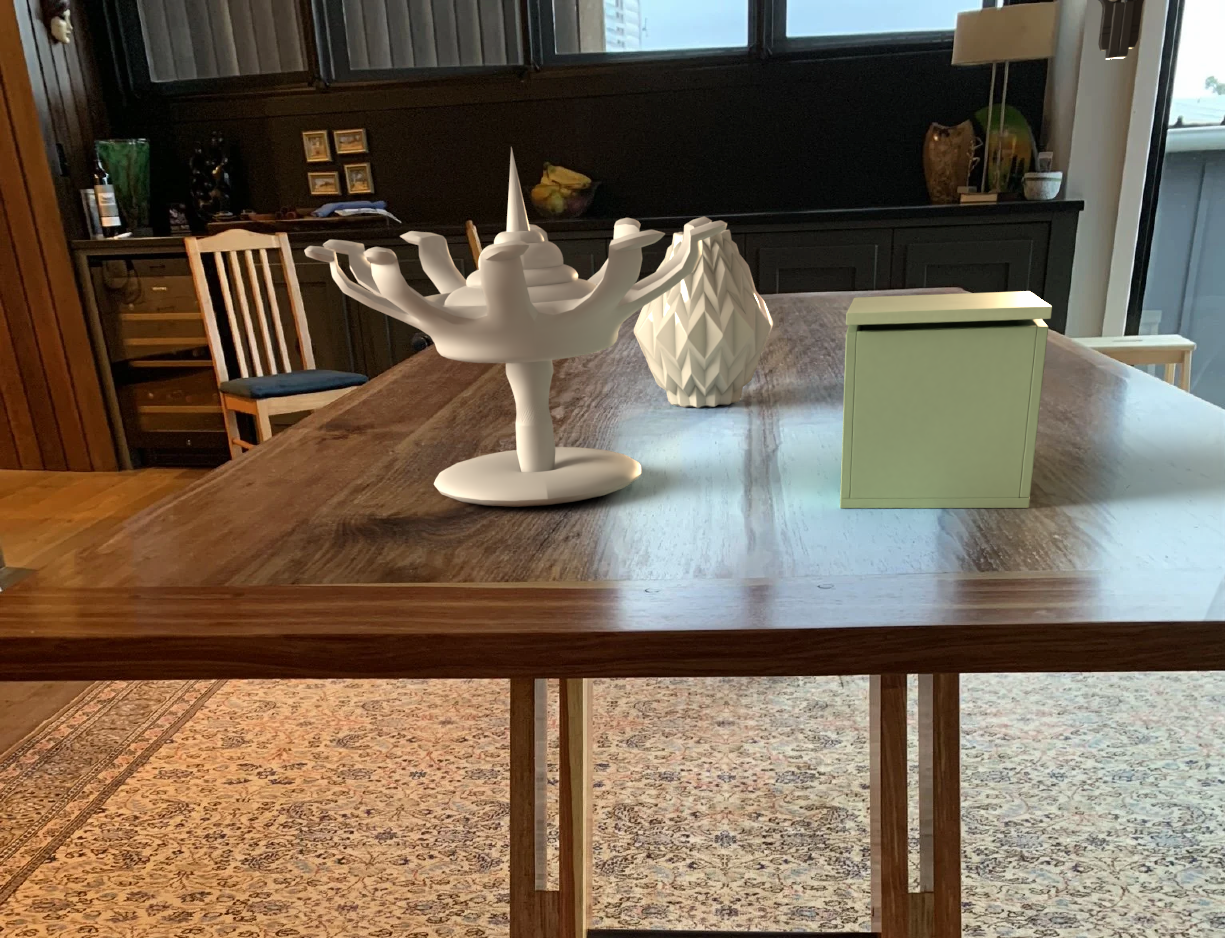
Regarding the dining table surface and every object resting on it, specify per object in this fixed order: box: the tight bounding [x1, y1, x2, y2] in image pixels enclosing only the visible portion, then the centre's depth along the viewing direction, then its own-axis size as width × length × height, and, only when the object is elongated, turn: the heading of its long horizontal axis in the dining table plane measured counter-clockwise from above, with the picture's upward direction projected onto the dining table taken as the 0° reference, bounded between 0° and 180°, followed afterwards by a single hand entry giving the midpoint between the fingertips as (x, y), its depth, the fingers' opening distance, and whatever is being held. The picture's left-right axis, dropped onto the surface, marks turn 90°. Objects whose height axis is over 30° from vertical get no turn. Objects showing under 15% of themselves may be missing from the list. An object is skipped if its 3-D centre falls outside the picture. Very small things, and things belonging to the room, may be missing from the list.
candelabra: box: [304, 146, 728, 508], centre depth 104 cm, size 34×35×27 cm
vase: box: [633, 229, 774, 409], centre depth 141 cm, size 16×16×18 cm
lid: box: [845, 290, 1053, 326], centre depth 97 cm, size 17×15×1 cm
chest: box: [839, 319, 1049, 509], centre depth 100 cm, size 17×15×13 cm
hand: (1115, 57), depth 98 cm, fingers closed
